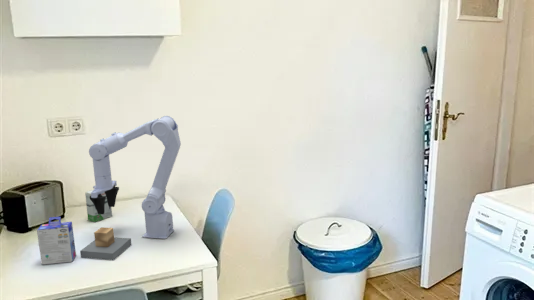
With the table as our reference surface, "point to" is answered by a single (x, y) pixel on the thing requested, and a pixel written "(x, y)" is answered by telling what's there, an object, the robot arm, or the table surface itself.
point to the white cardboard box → (93, 212)
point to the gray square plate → (106, 249)
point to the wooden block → (104, 237)
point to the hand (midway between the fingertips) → (106, 210)
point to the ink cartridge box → (56, 242)
